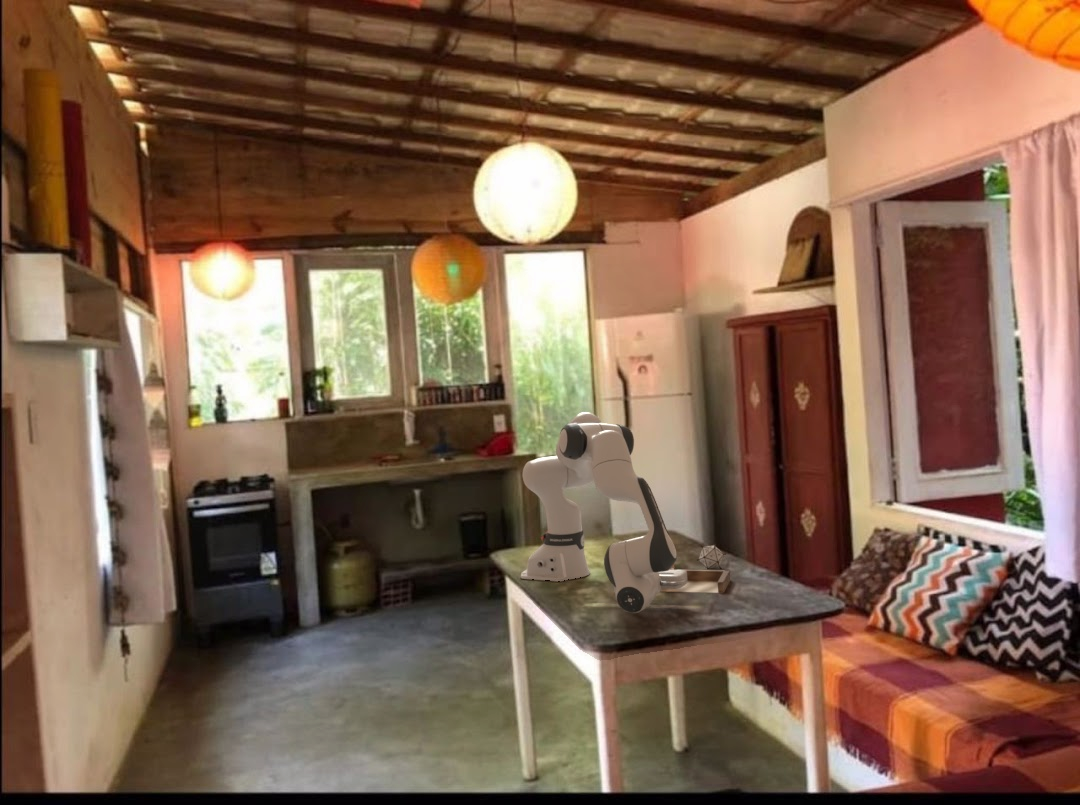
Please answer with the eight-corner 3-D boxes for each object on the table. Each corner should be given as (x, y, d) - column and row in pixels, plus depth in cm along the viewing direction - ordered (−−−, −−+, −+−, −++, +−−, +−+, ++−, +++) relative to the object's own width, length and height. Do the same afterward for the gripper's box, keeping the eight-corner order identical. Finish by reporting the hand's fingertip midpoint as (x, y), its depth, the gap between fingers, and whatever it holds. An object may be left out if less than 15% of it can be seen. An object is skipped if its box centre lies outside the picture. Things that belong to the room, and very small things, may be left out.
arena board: (647, 594, 245) (646, 580, 245) (657, 582, 258) (656, 569, 258) (723, 596, 238) (723, 582, 238) (730, 583, 251) (729, 570, 251)
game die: (717, 581, 268) (726, 560, 262) (691, 572, 270) (699, 551, 264) (722, 562, 275) (730, 541, 269) (696, 553, 277) (704, 532, 271)
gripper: (682, 572, 223) (691, 560, 236) (607, 571, 230) (620, 559, 243) (683, 596, 224) (692, 582, 237) (608, 594, 231) (621, 581, 244)
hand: (655, 571), depth 240 cm, fingers open, 8 cm apart
